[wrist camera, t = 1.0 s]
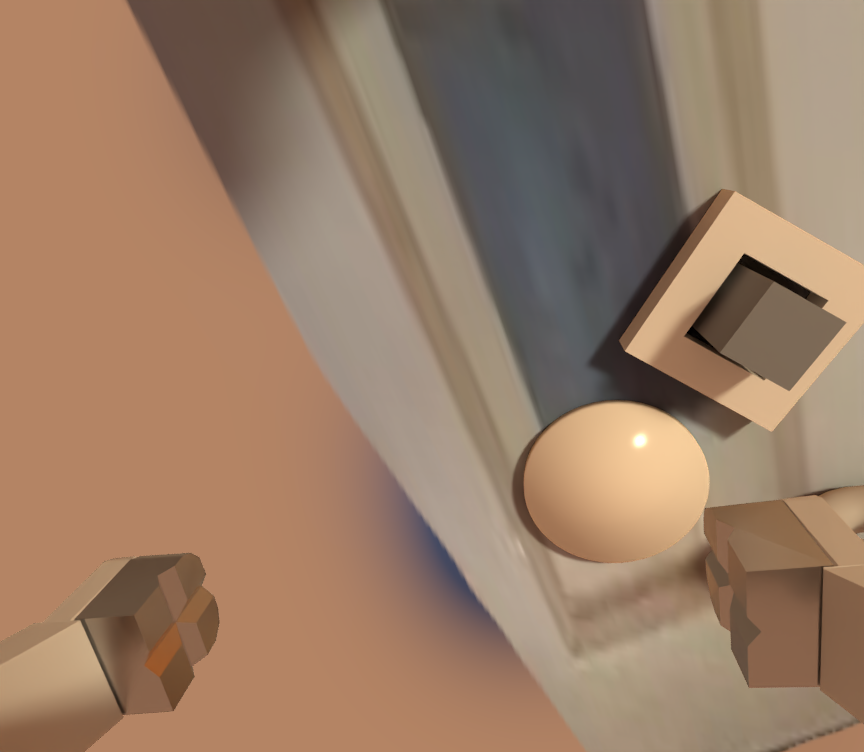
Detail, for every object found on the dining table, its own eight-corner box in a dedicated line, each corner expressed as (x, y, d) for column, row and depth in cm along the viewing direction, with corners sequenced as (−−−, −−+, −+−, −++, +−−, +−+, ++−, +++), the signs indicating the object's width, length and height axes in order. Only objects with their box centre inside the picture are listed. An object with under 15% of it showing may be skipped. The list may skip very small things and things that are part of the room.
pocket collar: (722, 188, 41) (735, 191, 38) (874, 276, 41) (896, 283, 39) (618, 340, 45) (624, 351, 43) (758, 417, 46) (771, 431, 43)
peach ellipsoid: (584, 367, 46) (586, 372, 45) (744, 454, 47) (748, 460, 46) (492, 506, 51) (491, 512, 50) (637, 581, 52) (639, 589, 51)
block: (733, 260, 42) (774, 281, 36) (795, 295, 42) (846, 322, 36) (688, 322, 44) (719, 352, 37) (748, 355, 44) (789, 391, 38)
